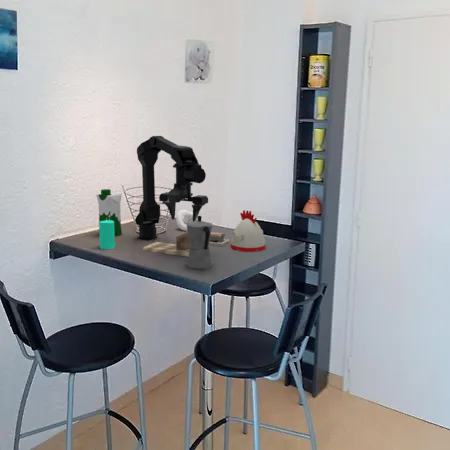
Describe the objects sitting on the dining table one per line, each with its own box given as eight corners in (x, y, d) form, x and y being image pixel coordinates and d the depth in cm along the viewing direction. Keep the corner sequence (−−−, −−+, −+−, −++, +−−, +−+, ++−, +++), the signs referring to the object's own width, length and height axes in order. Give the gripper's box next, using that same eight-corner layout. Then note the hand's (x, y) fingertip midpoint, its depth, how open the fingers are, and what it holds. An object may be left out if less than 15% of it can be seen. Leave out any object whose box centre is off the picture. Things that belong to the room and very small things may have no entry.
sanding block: (176, 250, 212) (176, 236, 211) (185, 246, 218) (185, 233, 217) (185, 252, 210) (185, 237, 209) (194, 248, 217) (194, 234, 215)
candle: (102, 249, 217) (100, 219, 214) (97, 246, 222) (96, 216, 219) (117, 248, 219) (116, 218, 217) (112, 244, 225) (111, 215, 222)
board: (143, 250, 217) (143, 247, 217) (157, 244, 226) (157, 241, 226) (188, 256, 209) (188, 253, 208) (200, 250, 217) (200, 247, 217)
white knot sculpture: (180, 233, 247) (180, 213, 245) (172, 227, 258) (172, 208, 256) (204, 231, 251) (204, 212, 249) (196, 226, 262) (196, 207, 260)
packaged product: (181, 232, 229) (190, 227, 238) (181, 243, 230) (190, 238, 239) (222, 236, 223) (230, 231, 232) (221, 247, 224) (230, 242, 233)
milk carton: (95, 235, 240) (94, 189, 236) (110, 231, 248) (109, 187, 243) (110, 238, 236) (109, 191, 231) (125, 234, 243) (124, 189, 239)
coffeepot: (180, 262, 202) (180, 213, 198) (205, 259, 205) (205, 211, 201) (195, 273, 188) (195, 221, 184) (220, 271, 191) (221, 219, 187)
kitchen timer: (247, 241, 233) (248, 206, 230) (272, 247, 224) (273, 211, 221) (223, 247, 224) (224, 210, 221) (248, 253, 214) (249, 215, 211)
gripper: (151, 181, 208) (151, 221, 212) (194, 184, 200) (194, 227, 204) (166, 177, 218) (167, 216, 221) (209, 181, 210) (208, 221, 214)
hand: (183, 220), depth 215 cm, fingers open, 9 cm apart
